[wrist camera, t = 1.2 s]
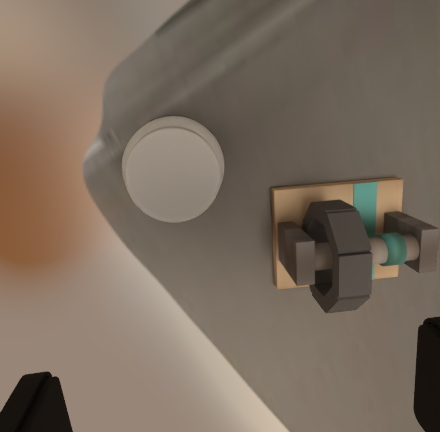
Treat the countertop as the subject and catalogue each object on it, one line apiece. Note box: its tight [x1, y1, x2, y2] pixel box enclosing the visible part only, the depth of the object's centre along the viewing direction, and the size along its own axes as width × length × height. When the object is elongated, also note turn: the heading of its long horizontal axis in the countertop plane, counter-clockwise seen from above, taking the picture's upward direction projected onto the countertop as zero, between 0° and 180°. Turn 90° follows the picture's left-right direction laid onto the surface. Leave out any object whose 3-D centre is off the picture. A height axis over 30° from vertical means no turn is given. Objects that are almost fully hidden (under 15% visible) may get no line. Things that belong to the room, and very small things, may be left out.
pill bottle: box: [122, 115, 225, 223], centre depth 23 cm, size 6×6×10 cm
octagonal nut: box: [302, 199, 373, 313], centre depth 26 cm, size 7×2×7 cm, turn 4°
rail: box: [271, 177, 439, 289], centre depth 28 cm, size 8×10×6 cm
